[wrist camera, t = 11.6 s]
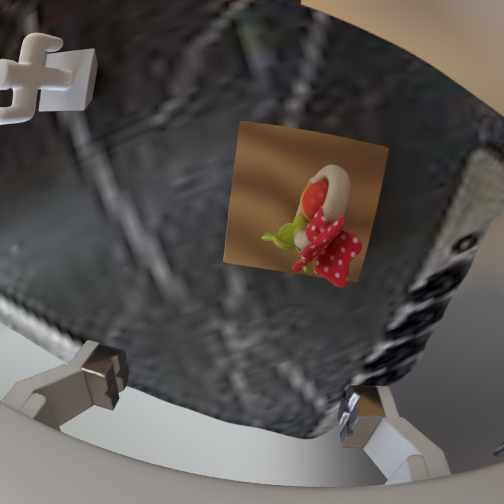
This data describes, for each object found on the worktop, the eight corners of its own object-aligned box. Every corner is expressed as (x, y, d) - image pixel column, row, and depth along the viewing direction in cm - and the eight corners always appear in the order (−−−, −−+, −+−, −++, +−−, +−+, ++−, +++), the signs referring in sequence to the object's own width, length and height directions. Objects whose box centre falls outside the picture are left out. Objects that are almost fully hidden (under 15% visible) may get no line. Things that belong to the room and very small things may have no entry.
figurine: (111, 45, 30) (31, 17, 16) (99, 119, 33) (13, 124, 19) (65, 50, 30) (-17, 33, 16) (55, 119, 33) (-31, 127, 19)
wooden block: (246, 122, 32) (240, 120, 27) (371, 144, 32) (389, 147, 26) (231, 242, 37) (223, 262, 32) (347, 259, 37) (357, 282, 31)
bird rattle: (282, 169, 30) (253, 261, 30) (306, 123, 19) (263, 262, 19) (342, 191, 30) (316, 281, 30) (394, 159, 19) (360, 293, 19)
